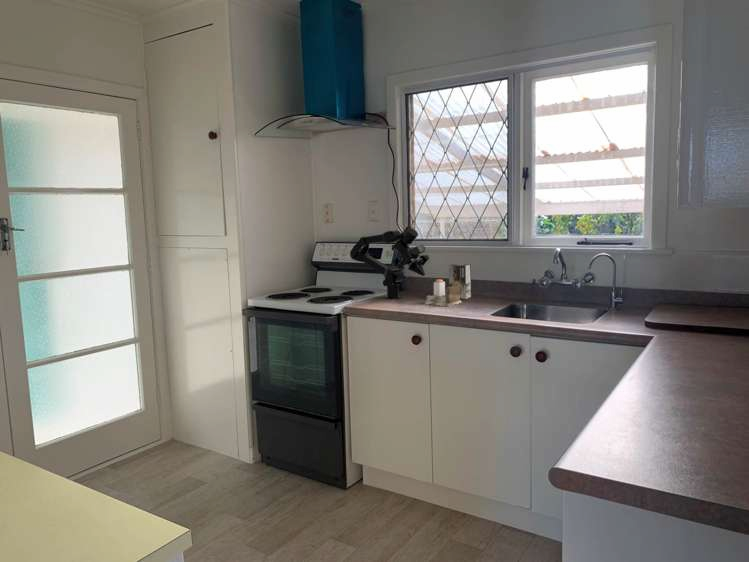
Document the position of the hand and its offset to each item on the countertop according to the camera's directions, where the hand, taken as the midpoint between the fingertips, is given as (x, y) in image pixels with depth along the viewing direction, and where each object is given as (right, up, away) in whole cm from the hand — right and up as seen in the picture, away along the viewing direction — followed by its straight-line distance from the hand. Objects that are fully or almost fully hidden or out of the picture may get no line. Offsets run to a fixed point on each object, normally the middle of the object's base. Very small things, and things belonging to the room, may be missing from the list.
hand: (424, 275), depth 274 cm
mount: (+8, -13, -5) cm, 16 cm away
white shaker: (+7, -11, -4) cm, 14 cm away
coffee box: (+18, -11, +10) cm, 24 cm away
